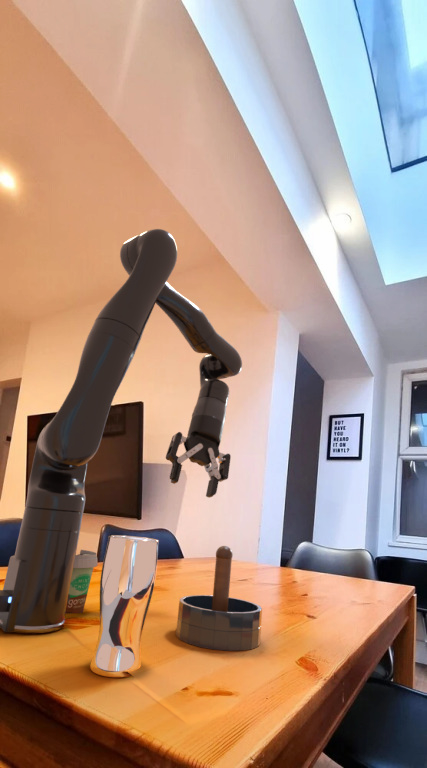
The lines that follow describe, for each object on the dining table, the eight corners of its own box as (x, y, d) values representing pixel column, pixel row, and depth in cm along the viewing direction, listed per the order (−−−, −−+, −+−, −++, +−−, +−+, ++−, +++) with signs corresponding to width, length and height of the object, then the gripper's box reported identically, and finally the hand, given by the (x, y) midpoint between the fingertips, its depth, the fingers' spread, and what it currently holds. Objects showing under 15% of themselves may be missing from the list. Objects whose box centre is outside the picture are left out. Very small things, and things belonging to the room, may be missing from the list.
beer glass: (93, 681, 47) (115, 538, 51) (80, 660, 53) (101, 533, 57) (152, 676, 50) (168, 541, 54) (133, 657, 56) (149, 537, 60)
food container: (66, 623, 68) (78, 557, 71) (33, 617, 70) (46, 553, 73) (101, 609, 80) (110, 553, 83) (72, 605, 81) (82, 549, 84)
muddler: (215, 642, 64) (223, 546, 68) (199, 635, 67) (208, 544, 71) (235, 639, 66) (241, 547, 71) (219, 633, 70) (226, 545, 74)
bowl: (210, 660, 58) (213, 615, 59) (159, 633, 68) (164, 596, 70) (277, 650, 65) (278, 610, 67) (222, 627, 75) (225, 594, 77)
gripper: (188, 403, 91) (169, 473, 82) (242, 428, 96) (230, 497, 87) (173, 415, 97) (154, 481, 88) (225, 438, 102) (212, 504, 93)
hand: (192, 489), depth 88 cm, fingers open, 8 cm apart
